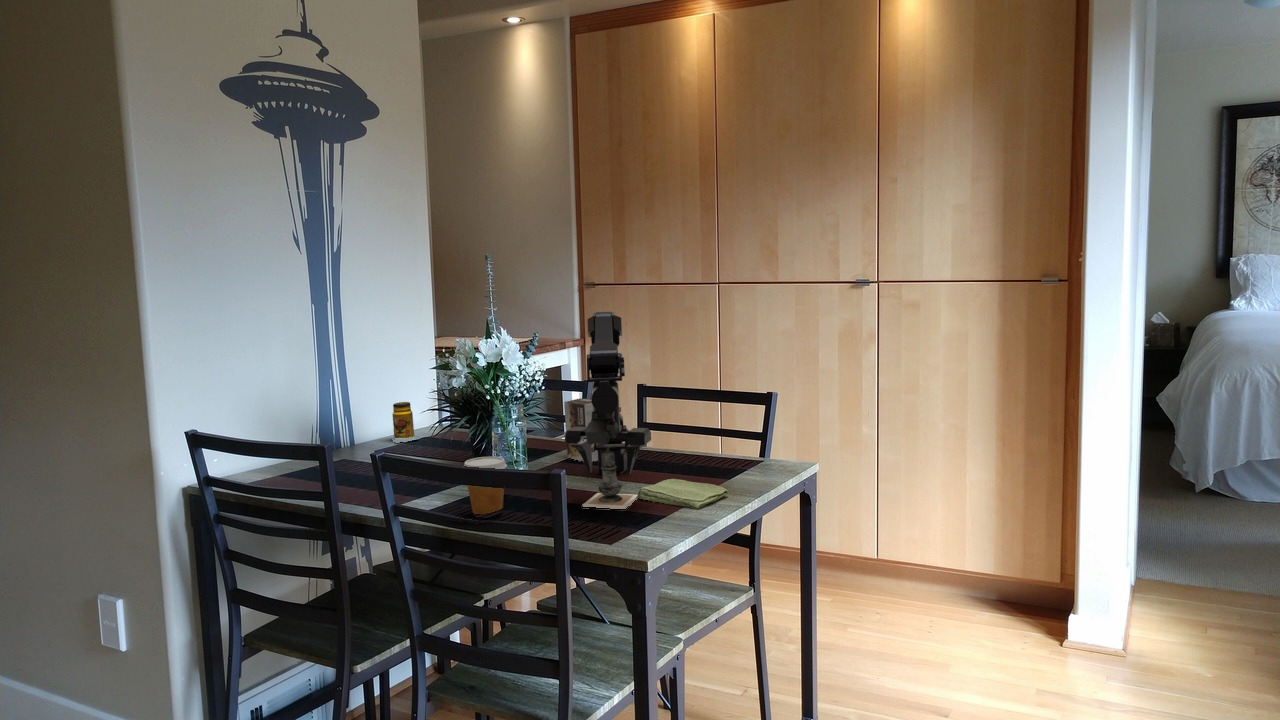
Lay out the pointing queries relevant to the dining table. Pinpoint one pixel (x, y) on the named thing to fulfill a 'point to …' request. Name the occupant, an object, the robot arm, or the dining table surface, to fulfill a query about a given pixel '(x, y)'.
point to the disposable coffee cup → (483, 496)
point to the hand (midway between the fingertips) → (609, 473)
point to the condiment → (403, 420)
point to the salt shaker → (609, 478)
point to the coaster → (622, 504)
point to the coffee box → (578, 423)
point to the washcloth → (682, 493)
